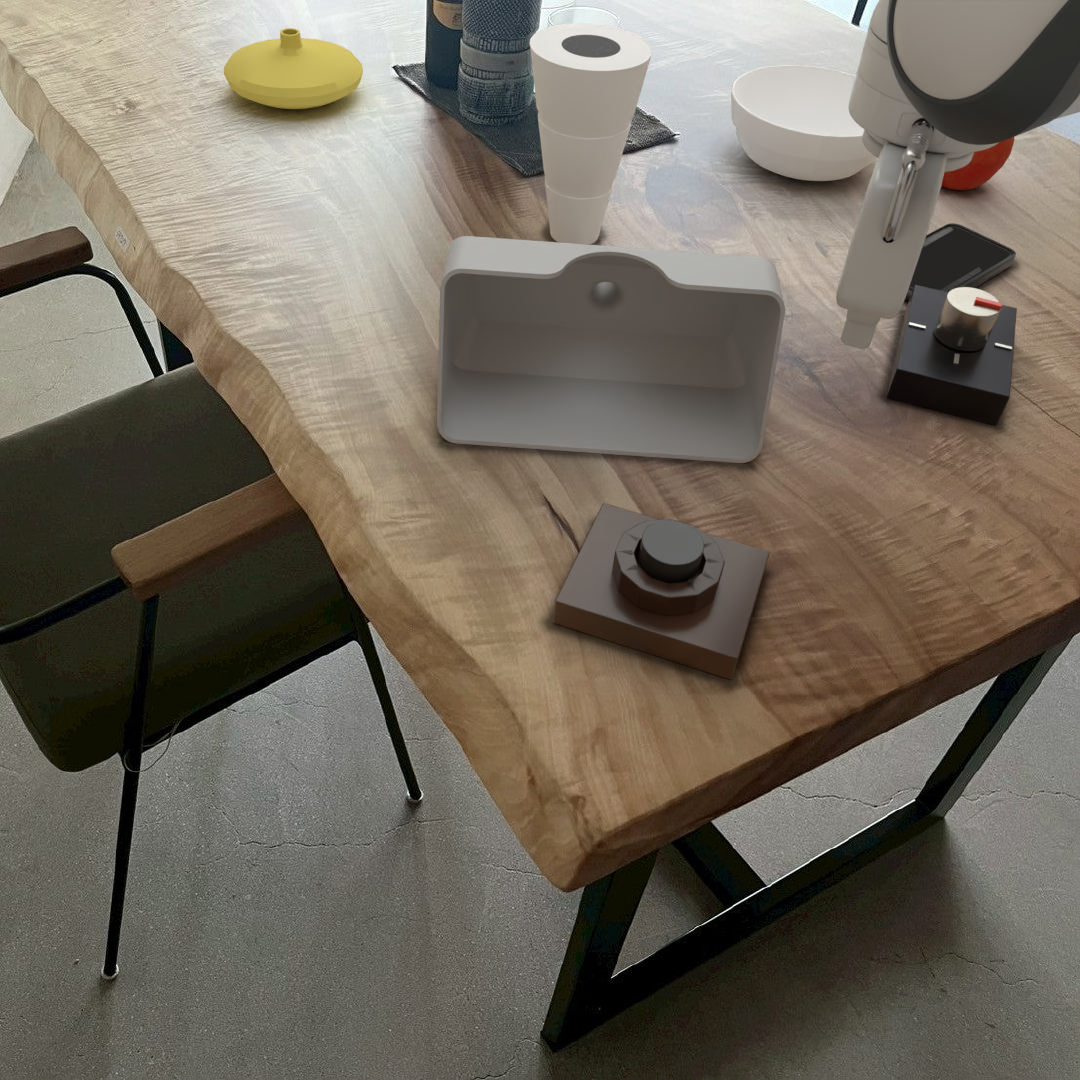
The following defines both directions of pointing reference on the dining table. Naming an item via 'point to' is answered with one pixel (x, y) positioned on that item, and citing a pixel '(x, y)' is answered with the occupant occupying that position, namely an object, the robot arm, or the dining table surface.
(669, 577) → the button
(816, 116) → the bowl
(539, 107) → the white tapered cylinder
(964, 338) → the knob
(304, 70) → the vase
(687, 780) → the dining table surface
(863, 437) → the dining table surface
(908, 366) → the panel
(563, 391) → the grey storage bin
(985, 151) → the apple
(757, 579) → the button block
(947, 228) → the phone
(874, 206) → the robot arm
